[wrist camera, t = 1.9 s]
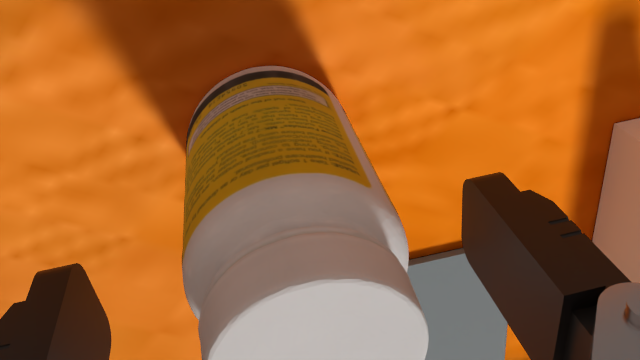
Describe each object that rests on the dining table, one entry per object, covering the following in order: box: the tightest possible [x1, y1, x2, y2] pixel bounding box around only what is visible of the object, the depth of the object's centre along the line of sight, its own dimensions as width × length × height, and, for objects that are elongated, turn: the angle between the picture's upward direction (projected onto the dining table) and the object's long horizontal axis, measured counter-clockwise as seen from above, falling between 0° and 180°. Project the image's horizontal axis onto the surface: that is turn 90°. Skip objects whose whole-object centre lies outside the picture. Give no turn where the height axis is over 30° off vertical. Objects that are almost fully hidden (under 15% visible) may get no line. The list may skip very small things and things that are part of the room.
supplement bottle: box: [182, 66, 429, 360], centre depth 13 cm, size 5×5×8 cm
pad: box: [407, 248, 508, 360], centre depth 22 cm, size 8×8×1 cm
